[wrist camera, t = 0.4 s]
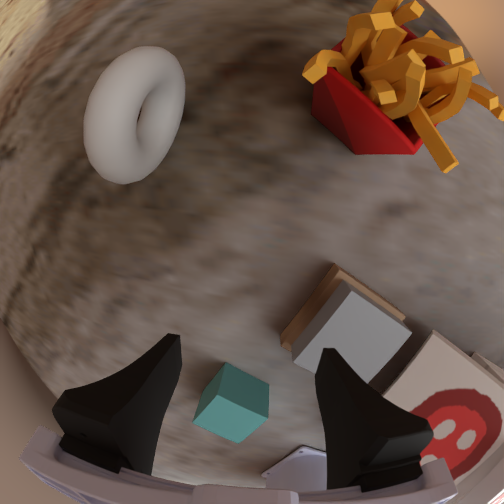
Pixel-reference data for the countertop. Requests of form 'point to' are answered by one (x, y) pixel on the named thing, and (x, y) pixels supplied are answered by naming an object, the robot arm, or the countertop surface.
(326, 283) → the block
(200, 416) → the teal cube
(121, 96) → the donut
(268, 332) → the countertop surface
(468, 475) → the stacked pizza boxes
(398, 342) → the tower top
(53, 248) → the countertop surface
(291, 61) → the countertop surface
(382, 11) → the french fries
